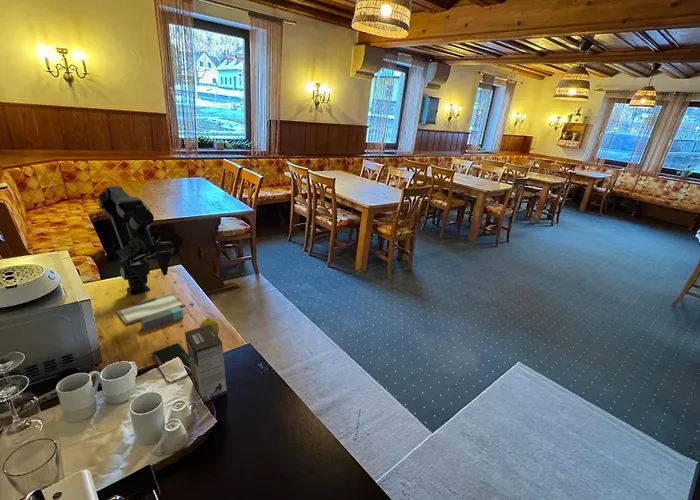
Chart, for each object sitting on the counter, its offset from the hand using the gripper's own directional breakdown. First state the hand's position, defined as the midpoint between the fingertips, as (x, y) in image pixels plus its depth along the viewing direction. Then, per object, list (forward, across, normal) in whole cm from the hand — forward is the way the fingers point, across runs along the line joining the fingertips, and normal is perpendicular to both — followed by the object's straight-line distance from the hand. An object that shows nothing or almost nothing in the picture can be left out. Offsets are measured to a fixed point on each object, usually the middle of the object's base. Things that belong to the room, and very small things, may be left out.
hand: (155, 279), depth 114 cm
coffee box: (+35, +24, -17) cm, 46 cm away
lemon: (+25, +14, -1) cm, 29 cm away
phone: (+27, +11, -13) cm, 31 cm away
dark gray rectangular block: (+14, -4, +1) cm, 15 cm away
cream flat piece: (+8, -12, +5) cm, 15 cm away
